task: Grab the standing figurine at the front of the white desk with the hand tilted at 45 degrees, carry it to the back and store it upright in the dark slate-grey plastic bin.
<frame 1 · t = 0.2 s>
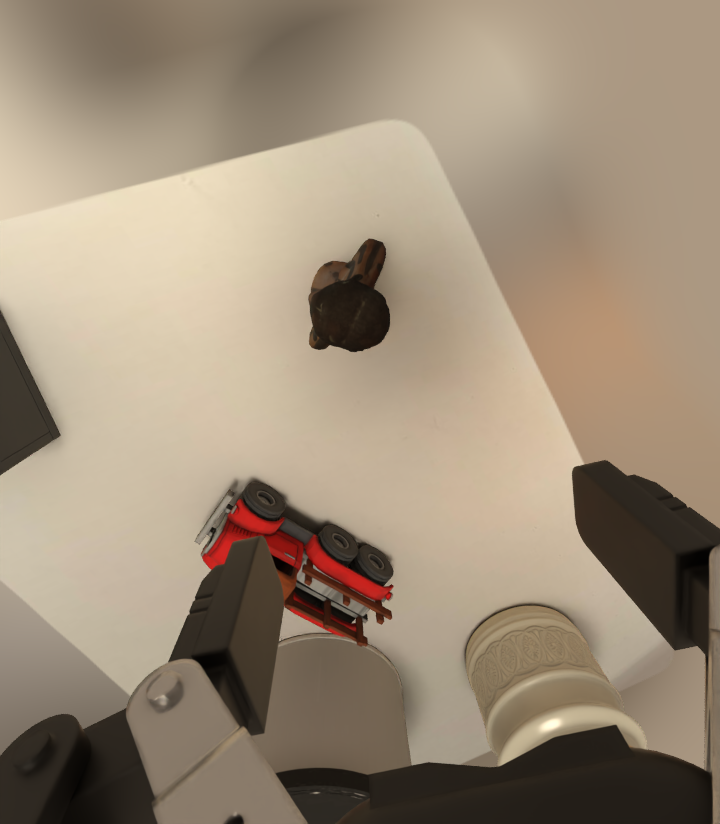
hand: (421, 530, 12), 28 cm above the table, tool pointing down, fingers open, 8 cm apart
jar: (520, 647, 51), on the table
figurine: (345, 285, 37), on the table
toy truck: (300, 544, 45), on the table
container: (320, 695, 52), on the table
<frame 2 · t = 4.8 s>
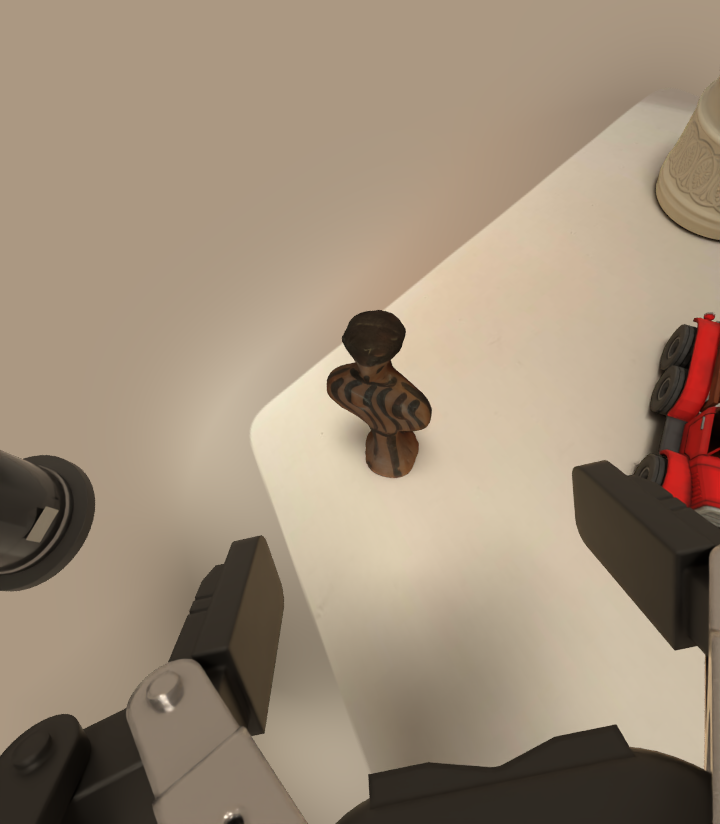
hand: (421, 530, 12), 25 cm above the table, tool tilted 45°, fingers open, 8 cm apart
jar: (719, 198, 47), on the table
figurine: (386, 448, 39), on the table
toy truck: (696, 438, 37), on the table
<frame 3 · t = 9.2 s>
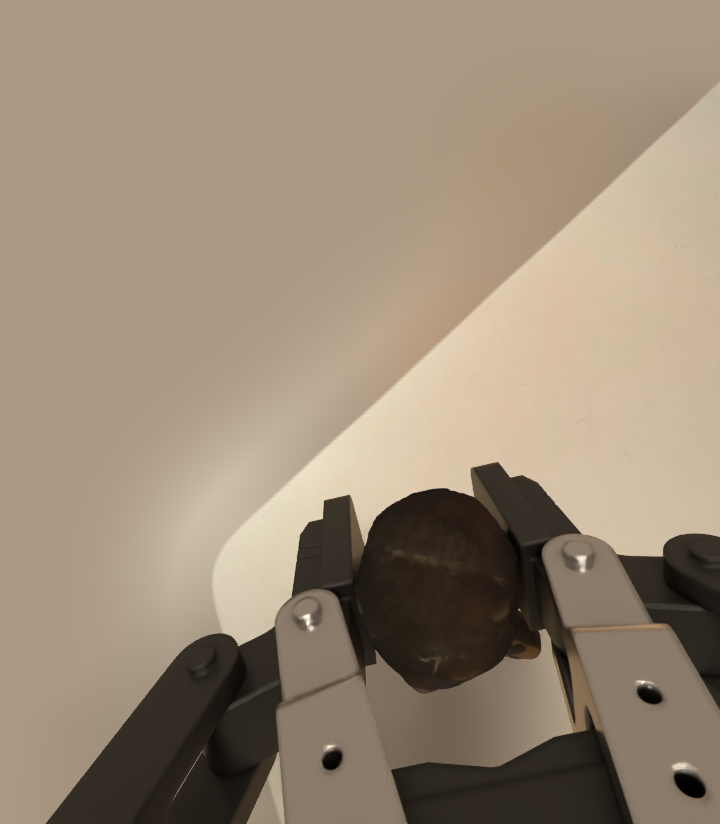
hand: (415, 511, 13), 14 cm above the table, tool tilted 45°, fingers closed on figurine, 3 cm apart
figurine: (427, 605, 25), on the table, touching gripper
when the fingers open (15 cm above the table, at t = 21.2 s): figurine stays where it is, resting on bin.
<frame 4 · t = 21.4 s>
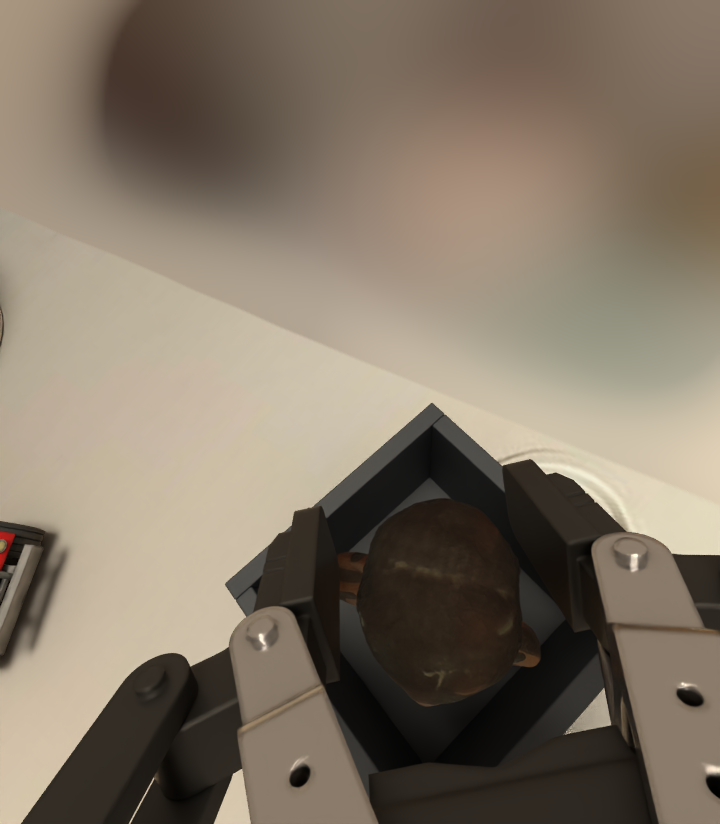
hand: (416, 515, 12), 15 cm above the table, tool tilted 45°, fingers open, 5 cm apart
figurine: (424, 609, 24), point 1 cm above the table, touching bin
bin: (428, 606, 25), on the table
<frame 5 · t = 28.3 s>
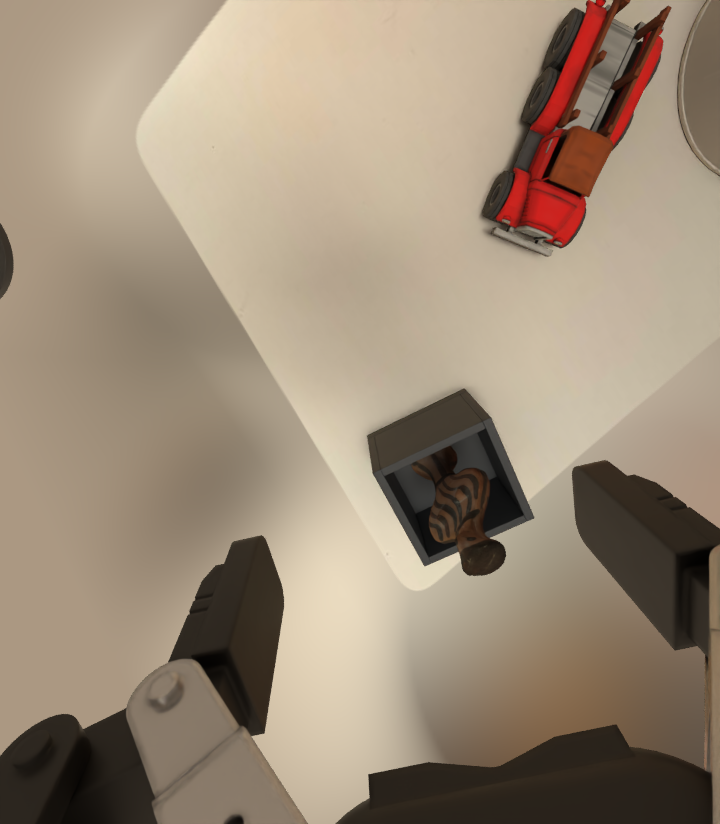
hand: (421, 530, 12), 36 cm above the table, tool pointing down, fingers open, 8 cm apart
figurine: (436, 456, 50), point 1 cm above the table, touching bin
toy truck: (553, 146, 41), on the table
bin: (436, 455, 51), on the table
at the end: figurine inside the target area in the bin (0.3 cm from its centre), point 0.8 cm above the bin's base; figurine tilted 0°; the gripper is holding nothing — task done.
